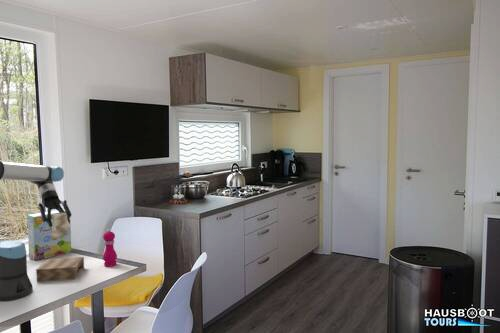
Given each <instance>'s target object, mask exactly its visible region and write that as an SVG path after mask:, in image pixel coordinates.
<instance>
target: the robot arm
mask: <svg viewBox="0 0 500 333" xmlns="http://www.w3.org/2000/svg"><path fill="white" fill-rule="evenodd" d="M64 174H65V172H64V169H63V168H62V167H60V166H52V165H51V166H49V165H39V164H38V165H37V164H28V163H18V162H17V163H16V162H7V161H2V160H1V159H0V180H1V181H2V180H7V181H8V180H9V181H28V182H29V183H32V184H34V185H35V186H37V189H38V191H39V194H40V197H41V200H42V203H38V205H37V208H38V210H39V213H41V216H42V220H43V222H45V221H46V222H47V223H48V225H49V227H52V230H53V233H55V232H56V227H55V225H54V222H53V219H51V211H53V210H55V211H59V212H60V213H62V212H63V213H66V214H67V223H68V230H69V229H70V225H71V218H72V212H71V210H70V208H69V206H68V203H67V202H68V201H67V199H66V200H61V199H60V198H59V194H58V193H57V189H56V187H55V185H54V182H60V181H63V179H64V177H65V176H64ZM62 206H63V208H62ZM45 208H47V212H48V213H47V218H46V215H45V212H46V211H45ZM63 209H64V210H65V211H64V210H63ZM69 218H70V220H69ZM69 224H70V225H69ZM27 260H28V259H27V249H26V245H25V243H24V242H23V241H21V240H20V241H19V240H16V239H15V240H14V239H12V240H2V241H0V302H7V301H8V302H9V301H14V300H18V299H22V298H25V297H26V296H28V295H29V296H30V294H31V293H32V292H33V291H34V290H33V284H32V281H31V280H30V277H29V276H28V261H27Z"/></svg>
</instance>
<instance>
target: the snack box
mask: <svg viewBox="0 0 500 333" xmlns="http://www.w3.org/2000/svg"><path fill="white" fill-rule="evenodd" d="M62 209H63V210H64V208H62ZM64 211H65V210H64ZM47 213H48V211H45V215H46V218H47ZM55 213H60V212H59V211H57V210H51V214H55ZM69 220H70V221H71V217H70V218H69ZM69 225H70V229H69V230H68V236H63V237H57V238H55V237H53V236H51V227H49V225H48V223H47V222H46V221H45V222H43V220H42V216H41V212H37V213H32V214H27V238H28V258H29V259H31V260H33V261H39V260H43V259H48V258H52V257H56V256H60V255H64V254H68V253H71V252H72V231H71V226H72V225H71V223H70V224H69Z"/></svg>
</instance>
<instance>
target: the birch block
mask: <svg viewBox="0 0 500 333" xmlns="http://www.w3.org/2000/svg"><path fill="white" fill-rule="evenodd" d="M51 219H53V222H54V225H55V227H56V232H55V233H53V230H52V227H51V236H53V237H55V238H57V237H63V236H68V223H67V214H66V213H63V212H62V213H55V214H51Z"/></svg>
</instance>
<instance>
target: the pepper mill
mask: <svg viewBox="0 0 500 333" xmlns="http://www.w3.org/2000/svg"><path fill="white" fill-rule="evenodd" d="M115 237H116V234H115V232H113V231H111V229H110V228H108V229H106V232H104V233H103V240H104V244H105V250H104V252H103V256H102V260H103V261H104V262H103V266H104V267H106V268H111V267H115V266H117V259H118V255H117V253H116V250H115V247H114V244H115V239H116V238H115Z"/></svg>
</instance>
